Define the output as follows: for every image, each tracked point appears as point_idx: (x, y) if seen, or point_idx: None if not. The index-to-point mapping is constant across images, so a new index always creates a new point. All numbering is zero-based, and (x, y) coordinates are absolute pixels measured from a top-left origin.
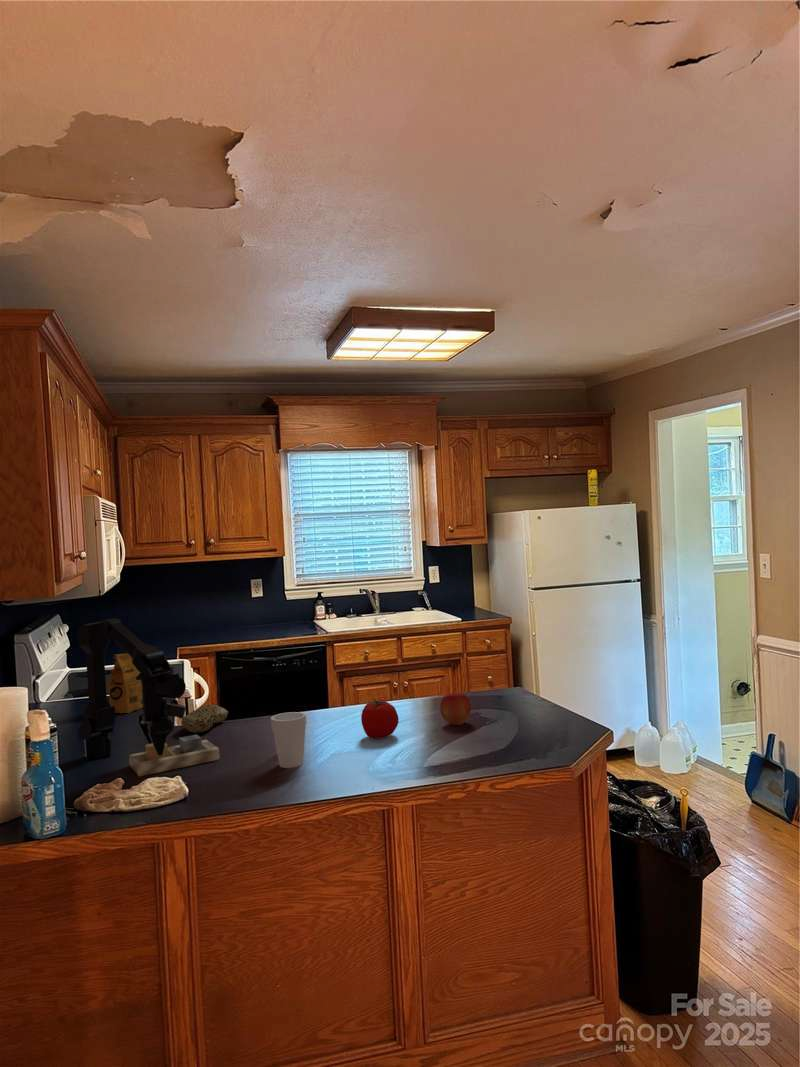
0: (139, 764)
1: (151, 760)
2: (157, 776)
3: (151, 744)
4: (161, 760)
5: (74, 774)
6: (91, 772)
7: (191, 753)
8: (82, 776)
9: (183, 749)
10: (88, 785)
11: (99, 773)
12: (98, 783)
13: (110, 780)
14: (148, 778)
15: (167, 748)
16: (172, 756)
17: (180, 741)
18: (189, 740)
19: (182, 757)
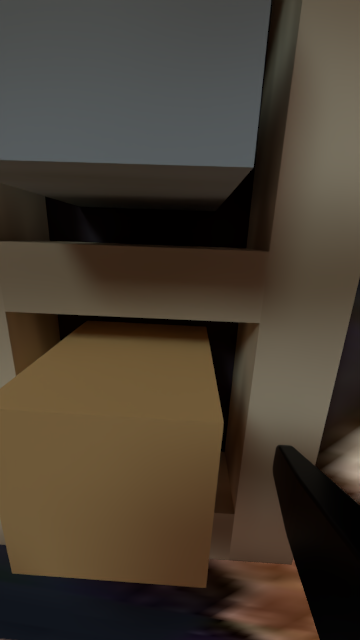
0: (278, 557)
1: (249, 486)
2: (355, 432)
3: (48, 536)
4: (317, 439)
5: (19, 636)
6: (33, 599)
7: (353, 147)
8: (69, 626)
9: (193, 194)
10: (215, 636)
11: (71, 584)
12: (220, 613)
13: (217, 580)
14: (345, 472)
15: (217, 398)
16: (280, 341)
17: (34, 173)
18: (267, 24)
19: (353, 264)
